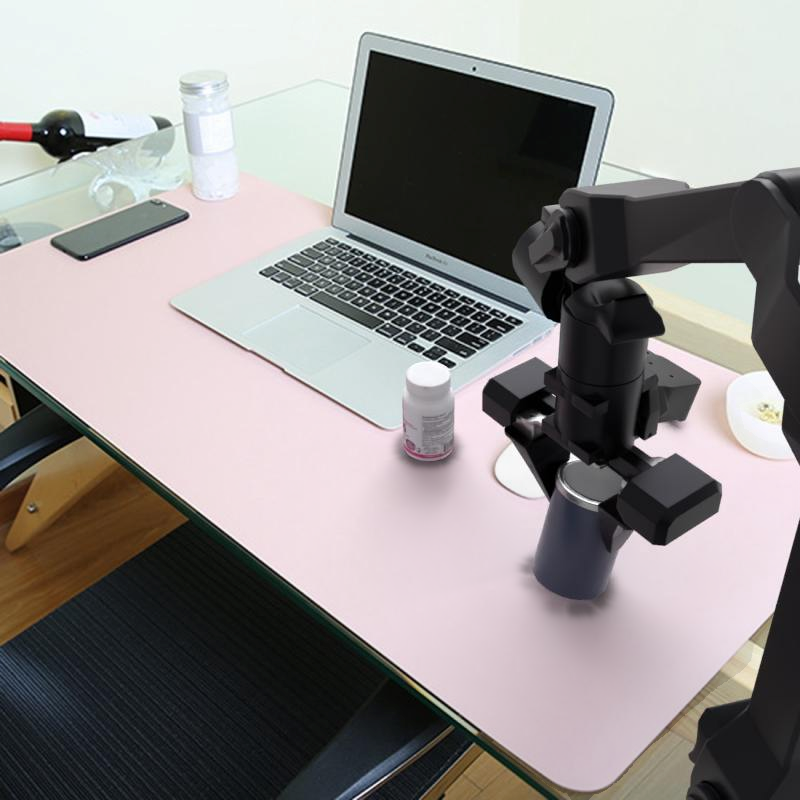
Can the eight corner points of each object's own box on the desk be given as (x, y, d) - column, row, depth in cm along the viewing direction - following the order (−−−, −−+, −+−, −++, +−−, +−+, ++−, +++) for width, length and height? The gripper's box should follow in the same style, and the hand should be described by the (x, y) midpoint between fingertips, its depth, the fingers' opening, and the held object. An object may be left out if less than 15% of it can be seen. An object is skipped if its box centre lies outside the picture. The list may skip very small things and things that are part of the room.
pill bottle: (396, 436, 91) (394, 363, 86) (443, 426, 92) (444, 354, 87) (412, 467, 87) (411, 393, 82) (461, 457, 88) (463, 383, 83)
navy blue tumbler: (624, 587, 75) (657, 494, 71) (569, 611, 72) (599, 515, 67) (569, 541, 79) (597, 450, 75) (514, 562, 76) (539, 468, 71)
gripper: (797, 382, 61) (753, 550, 70) (591, 266, 73) (578, 423, 83) (675, 453, 56) (646, 623, 66) (477, 317, 68) (477, 477, 78)
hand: (584, 525), depth 73 cm, fingers closed on navy blue tumbler, 6 cm apart
